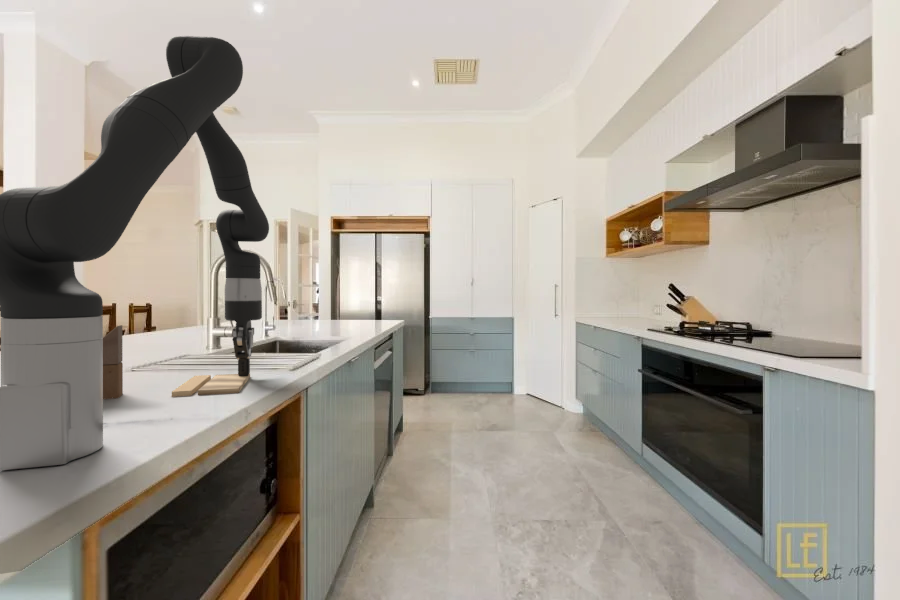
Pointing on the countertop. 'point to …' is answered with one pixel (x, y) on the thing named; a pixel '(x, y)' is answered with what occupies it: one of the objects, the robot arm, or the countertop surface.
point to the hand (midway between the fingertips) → (244, 375)
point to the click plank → (224, 384)
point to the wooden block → (112, 364)
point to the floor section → (191, 386)
